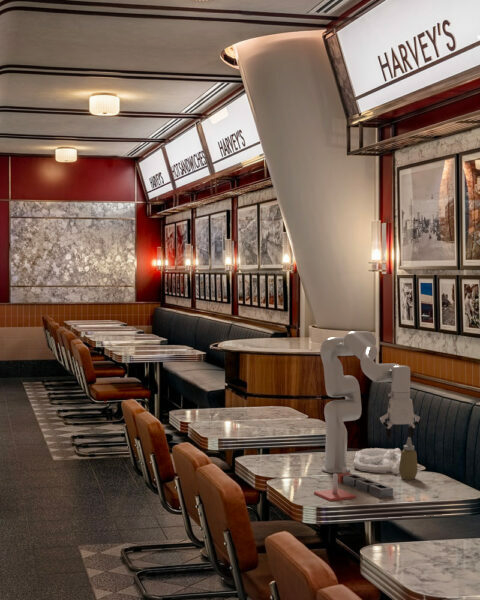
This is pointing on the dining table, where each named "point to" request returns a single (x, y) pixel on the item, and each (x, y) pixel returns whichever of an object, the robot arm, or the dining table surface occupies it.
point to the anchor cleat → (340, 476)
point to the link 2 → (364, 484)
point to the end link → (380, 490)
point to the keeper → (334, 492)
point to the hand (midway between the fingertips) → (399, 437)
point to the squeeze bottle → (408, 462)
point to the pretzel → (377, 460)
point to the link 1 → (351, 480)
